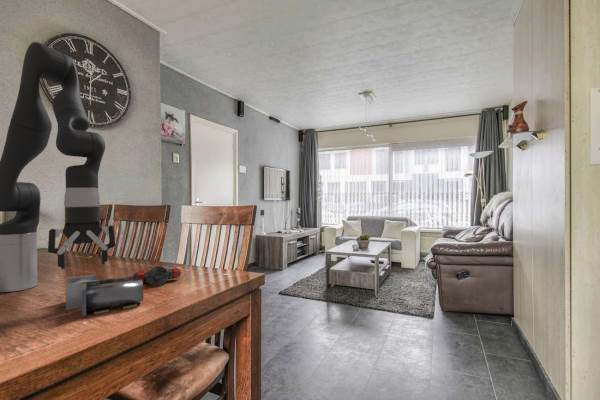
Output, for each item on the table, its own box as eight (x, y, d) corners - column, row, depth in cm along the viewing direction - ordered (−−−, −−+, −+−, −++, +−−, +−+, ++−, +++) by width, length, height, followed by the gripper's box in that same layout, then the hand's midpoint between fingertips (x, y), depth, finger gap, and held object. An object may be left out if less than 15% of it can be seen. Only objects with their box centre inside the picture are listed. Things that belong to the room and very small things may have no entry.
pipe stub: (81, 317, 68) (81, 290, 68) (82, 309, 74) (82, 283, 74) (143, 306, 76) (143, 281, 76) (140, 299, 81) (140, 276, 81)
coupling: (97, 305, 77) (97, 280, 77) (65, 310, 73) (65, 284, 73) (96, 297, 83) (96, 274, 83) (68, 301, 80) (67, 278, 80)
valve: (184, 279, 110) (179, 283, 96) (104, 288, 103) (86, 295, 89) (183, 261, 111) (178, 264, 97) (104, 269, 104) (87, 273, 89)
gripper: (113, 204, 86) (114, 260, 86) (49, 206, 77) (50, 267, 77) (115, 204, 80) (116, 264, 80) (45, 206, 71) (47, 273, 71)
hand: (83, 266), depth 78 cm, fingers open, 8 cm apart
